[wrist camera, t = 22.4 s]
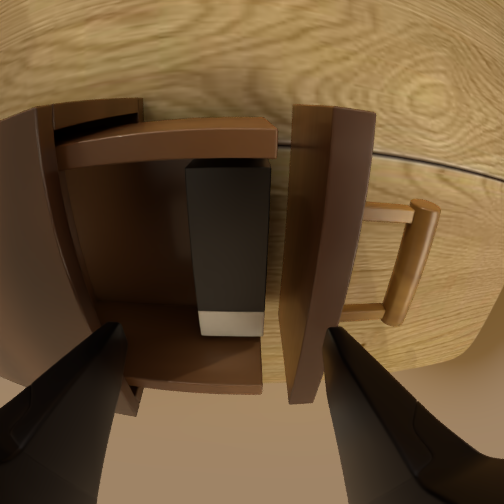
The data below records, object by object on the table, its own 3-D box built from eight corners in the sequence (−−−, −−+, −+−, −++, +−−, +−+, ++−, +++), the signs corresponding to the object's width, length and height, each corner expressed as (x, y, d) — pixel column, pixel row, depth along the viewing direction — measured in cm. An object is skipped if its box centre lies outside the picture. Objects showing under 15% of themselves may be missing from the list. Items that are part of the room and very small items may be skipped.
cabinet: (143, 97, 12) (35, 105, 5) (168, 309, 19) (136, 417, 12) (-21, 143, 12) (-104, 184, 5) (20, 295, 19) (-29, 362, 11)
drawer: (402, 120, 12) (493, 145, 6) (363, 310, 18) (397, 391, 12) (60, 123, 12) (-30, 153, 6) (100, 306, 18) (61, 381, 12)
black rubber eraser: (266, 152, 12) (271, 167, 10) (260, 298, 16) (263, 336, 13) (198, 153, 12) (184, 168, 9) (207, 297, 16) (201, 335, 13)
